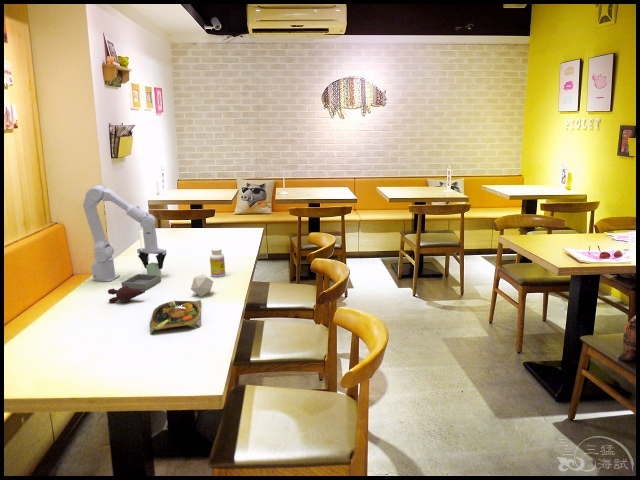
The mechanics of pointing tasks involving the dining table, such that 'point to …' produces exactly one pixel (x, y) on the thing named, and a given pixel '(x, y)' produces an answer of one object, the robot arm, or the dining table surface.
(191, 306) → the prepared meal
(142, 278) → the gray tray
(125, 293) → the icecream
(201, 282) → the die
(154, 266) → the mint block
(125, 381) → the dining table surface
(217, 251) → the supplement bottle
